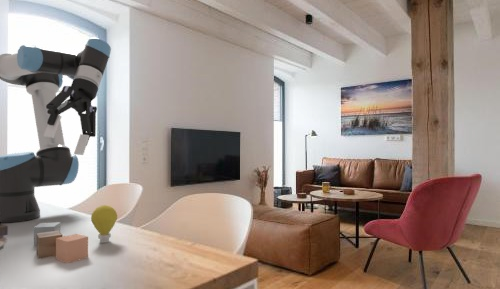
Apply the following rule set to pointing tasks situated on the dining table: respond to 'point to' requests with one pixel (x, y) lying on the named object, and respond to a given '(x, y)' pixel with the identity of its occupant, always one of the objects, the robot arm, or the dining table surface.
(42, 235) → the walnut block
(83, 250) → the terracotta block
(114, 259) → the dining table surface
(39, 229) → the slate grey block
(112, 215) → the light bulb
